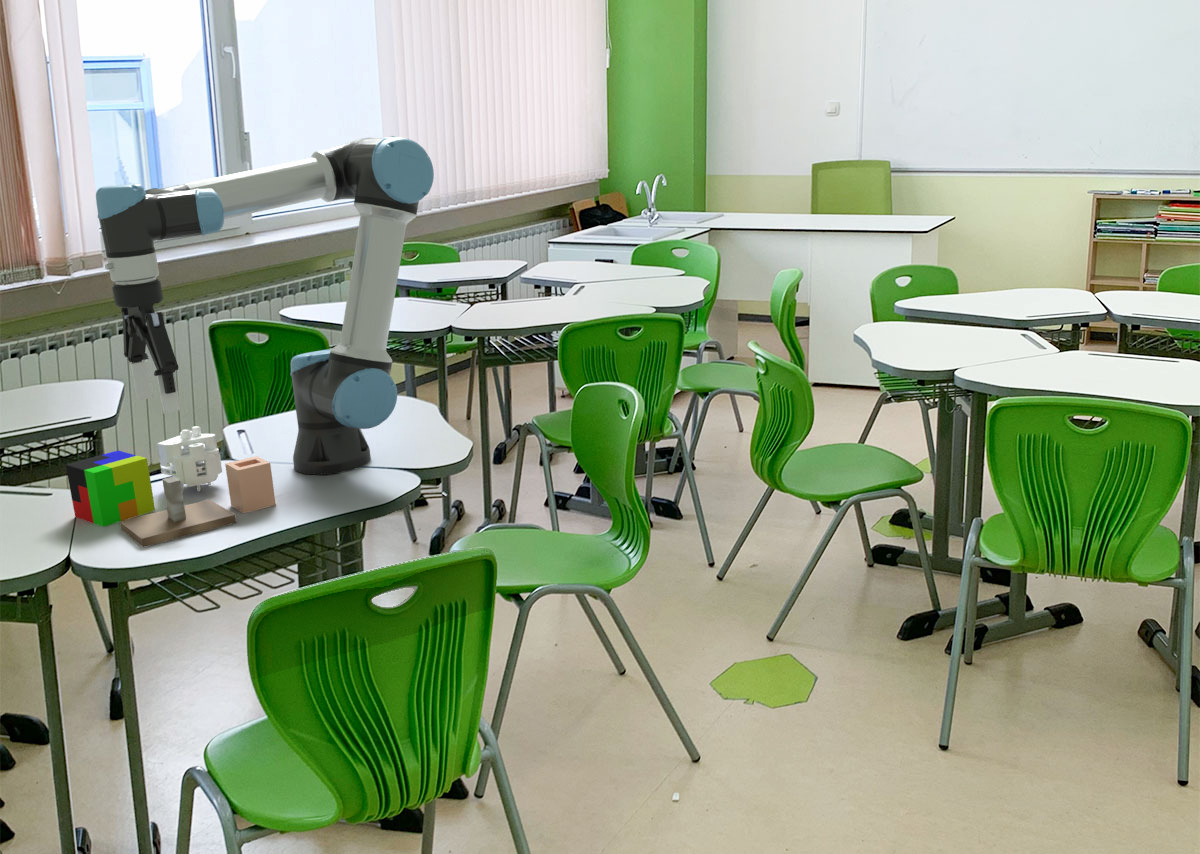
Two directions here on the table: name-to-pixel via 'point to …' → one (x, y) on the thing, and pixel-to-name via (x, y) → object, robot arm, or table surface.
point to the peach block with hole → (250, 484)
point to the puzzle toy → (110, 488)
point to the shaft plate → (180, 528)
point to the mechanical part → (191, 458)
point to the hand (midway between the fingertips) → (158, 405)
